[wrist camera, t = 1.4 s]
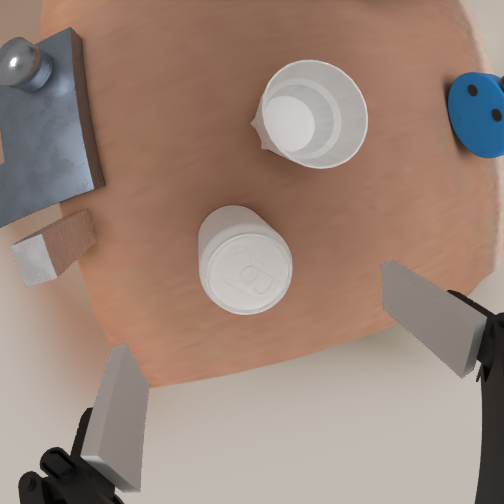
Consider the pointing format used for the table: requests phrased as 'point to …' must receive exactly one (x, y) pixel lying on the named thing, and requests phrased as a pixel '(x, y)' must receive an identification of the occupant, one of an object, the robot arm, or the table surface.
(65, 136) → the slotted metal base
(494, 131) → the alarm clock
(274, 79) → the cup
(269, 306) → the beverage can
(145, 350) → the table surface
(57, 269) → the grey square peg
